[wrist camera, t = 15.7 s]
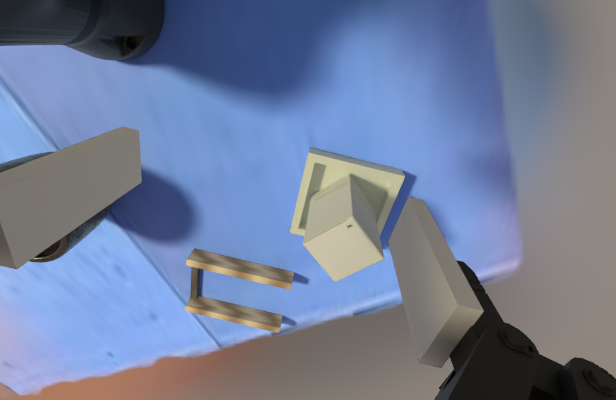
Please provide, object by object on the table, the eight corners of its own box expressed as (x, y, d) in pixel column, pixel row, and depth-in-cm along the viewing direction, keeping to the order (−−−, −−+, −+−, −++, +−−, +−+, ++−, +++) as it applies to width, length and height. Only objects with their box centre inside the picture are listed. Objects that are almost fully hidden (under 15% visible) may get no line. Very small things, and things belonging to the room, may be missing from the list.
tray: (291, 224, 50) (289, 232, 47) (309, 147, 43) (308, 152, 41) (371, 243, 50) (372, 252, 48) (401, 170, 43) (405, 176, 41)
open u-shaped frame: (191, 299, 60) (185, 311, 58) (194, 248, 54) (186, 259, 51) (281, 320, 61) (278, 332, 58) (294, 272, 54) (291, 283, 52)
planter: (109, 137, 45) (31, 168, 34) (141, 215, 52) (85, 263, 40) (30, 143, 47) (-69, 174, 36) (70, 217, 53) (-2, 264, 42)
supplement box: (309, 195, 46) (300, 243, 35) (350, 171, 43) (354, 215, 32) (334, 229, 48) (333, 283, 37) (375, 208, 46) (386, 260, 35)
